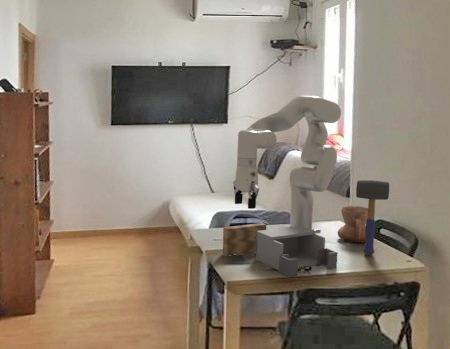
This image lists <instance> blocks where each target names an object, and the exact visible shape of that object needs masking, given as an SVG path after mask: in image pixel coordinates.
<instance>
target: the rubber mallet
mask: <svg viewBox="0 0 450 349" xmlns="http://www.w3.org/2000/svg"><path fill="white" fill-rule="evenodd" d="M389 195H390V182H387V181H382V180H372V179H371V180H370V179H369V180H367V179H365V180H364V179H363V180H361V179H360V180H357V181H356V188H355V196H356V198H359V199H365V200H368V207H367V208H368V218H367V221H366V224H365V226H366V227H365V242H364V247H363V254H364V255H365V256H368V255H371V256H373V254H374V253H375V249H374V243H375V242H374V241H375V239H374V238H375V233H376V220H375V213H376V212H375V210H376V200H377V201H378V200H379V201H380V200H381V201H382V200H384V201H385V200H388V199H389V198H390V196H389Z"/></svg>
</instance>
